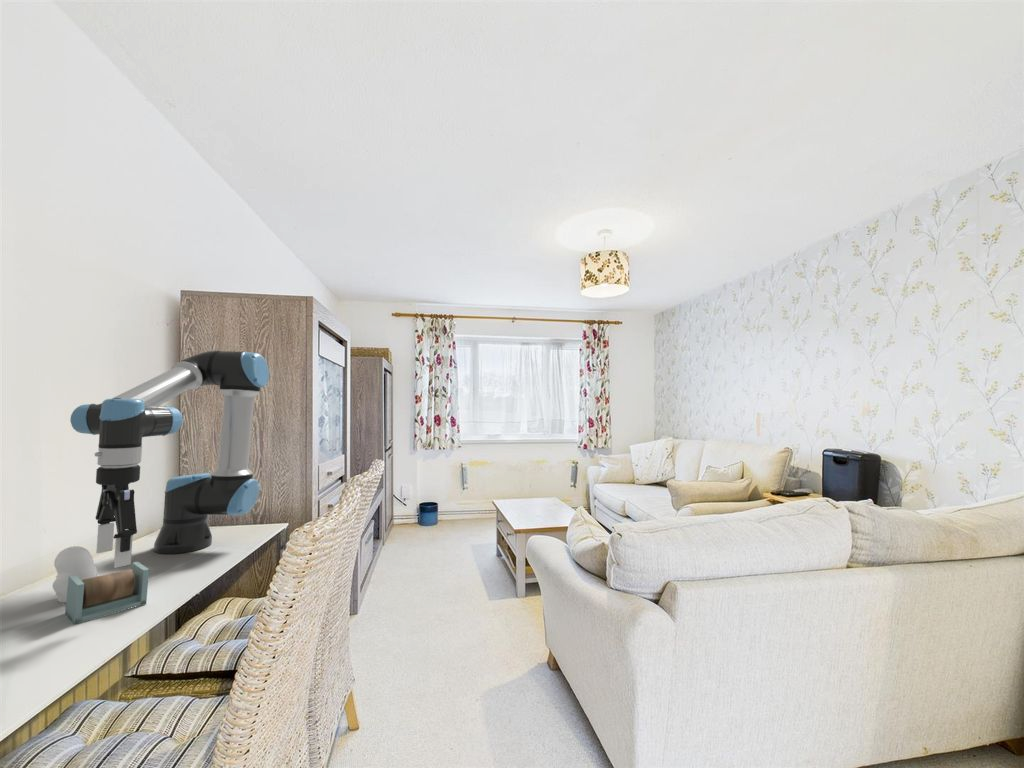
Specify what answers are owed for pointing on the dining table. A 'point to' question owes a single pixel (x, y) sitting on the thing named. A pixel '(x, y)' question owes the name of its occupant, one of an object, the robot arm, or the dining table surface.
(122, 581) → the roll
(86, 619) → the cradle
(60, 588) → the figurine
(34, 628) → the dining table surface
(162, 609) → the dining table surface
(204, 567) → the dining table surface
